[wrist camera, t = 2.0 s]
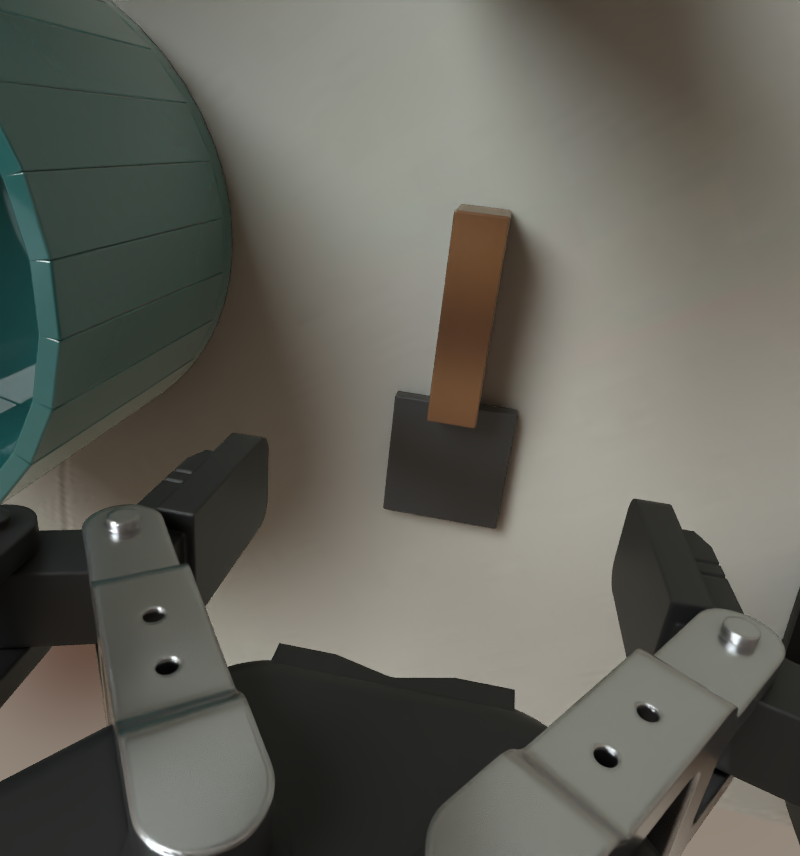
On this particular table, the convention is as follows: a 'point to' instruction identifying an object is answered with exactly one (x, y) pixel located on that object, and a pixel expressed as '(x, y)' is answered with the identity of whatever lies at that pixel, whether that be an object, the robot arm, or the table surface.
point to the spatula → (457, 392)
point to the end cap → (793, 634)
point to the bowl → (97, 229)
